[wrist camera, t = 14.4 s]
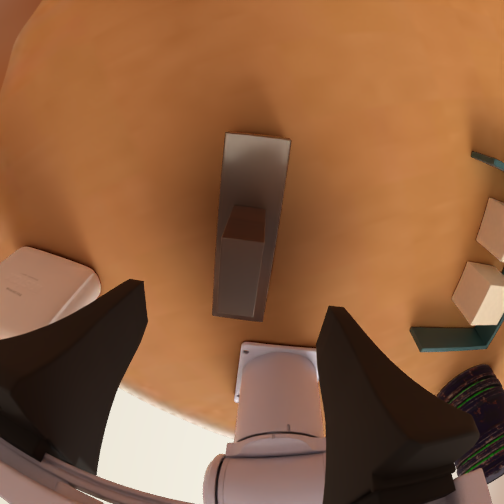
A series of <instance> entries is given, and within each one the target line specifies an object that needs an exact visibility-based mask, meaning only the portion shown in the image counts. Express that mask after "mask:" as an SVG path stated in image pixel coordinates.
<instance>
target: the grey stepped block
mask: <svg viewBox="0 0 504 504" xmlns="http://www.w3.org/2000/svg"><path fill="white" fill-rule="evenodd" d="M290 148H291V139H289V138H284V137H276V136H269V135H261V134H252V133H242V132H232V131H228V132H226V133H225V140H224V150H223V161H222V172H221V184H220V196H219V209H218V222H217V237H216V252H215V269H214V287H213V308H212V315H213V316H218V317H225V318H233V319H240V320H248V321H256V322H263V318H264V312H265V306H266V301H267V295H268V289H269V283H270V277H271V271H272V265H273V259H274V253H275V247H276V240H277V234H278V228H279V222H280V215H281V209H282V202H283V196H284V189H285V182H286V176H287V169H288V162H289V155H290Z"/></svg>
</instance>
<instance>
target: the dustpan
mask: <svg viewBox="0 0 504 504" xmlns="http://www.w3.org/2000/svg"><path fill="white" fill-rule="evenodd" d="M471 157H472V158H475V159H477V160H479V161H482V162H484V163H486V164H488V165H490V166H493V167H495V168H497V169H499V170H501V171H503V172H504V163H503V162H501V161H499V160H497V159H495V158H492V157H489V156H486V155H483V154H480V153H477V152H474V151H472V155H471ZM502 274H503V275H504V269H503V271H502ZM503 321H504V313H503V315H502V317H501V319H500V320H499V322H498V324H497V325H475V327H474V328H424V327H411V329H410V332H411V334H412V336H413V338H414V340H415V342H416V344H417V347H418V349H419V351H420V352H445V351H464V350H478V349H487V347H488V346H489V344H490V343H491V341H492V339H493V338H494V336H495V334H496V333H497V331H498V329H499V328H500V326H501V324H502V322H503Z"/></svg>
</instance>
